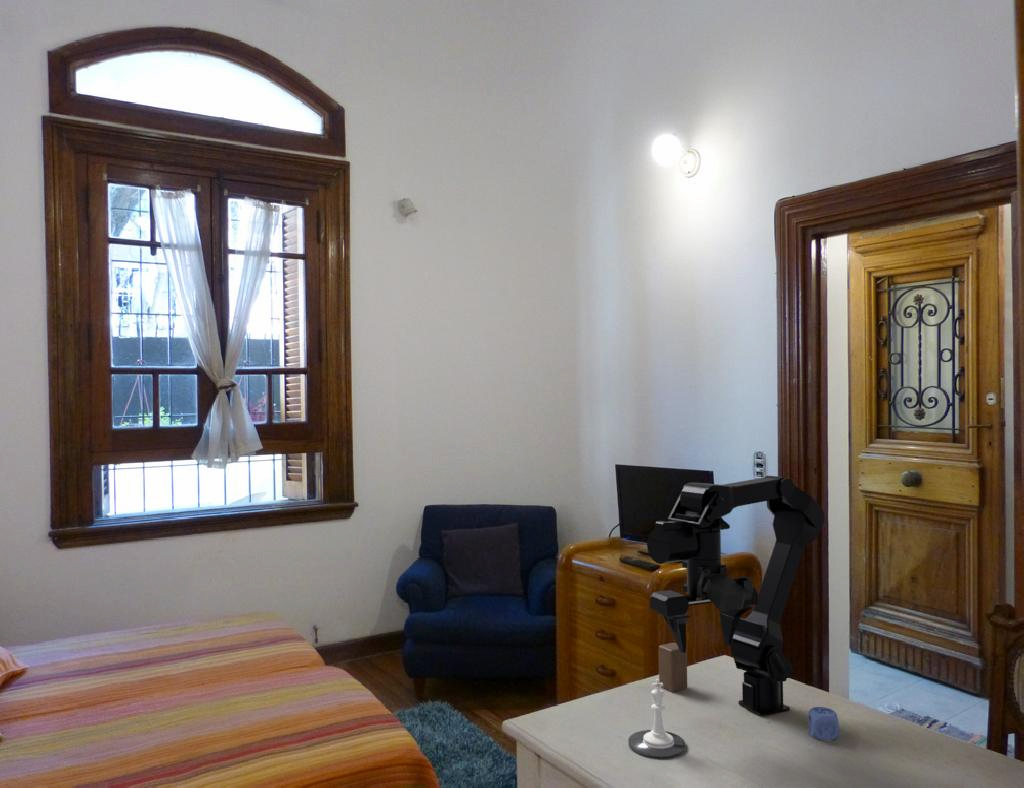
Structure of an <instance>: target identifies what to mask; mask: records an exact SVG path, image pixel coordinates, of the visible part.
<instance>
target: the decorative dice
mask: <svg viewBox="0 0 1024 788" xmlns="http://www.w3.org/2000/svg"><path fill="white" fill-rule="evenodd" d="M807 716H808V717H807V719H808V720H807V721H808V729H809V733H811V734H810V736H812V737H813V738H814V737H815V738H814V739H817V738H818V739H817V740H820V739H822V740H821V741H825V740H831V741H834V739H835V740H836V739H837V738H838V737H839V735H840V725H839V722H840V721H839V717H838V715H837V712H836V711H835V710H834V709H832V708H829V707H825V706H813V707H812V708H810V709H809V710H808V715H807Z"/></svg>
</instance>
